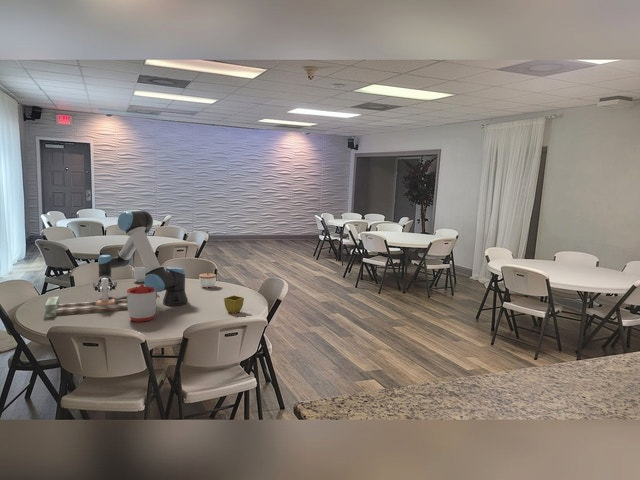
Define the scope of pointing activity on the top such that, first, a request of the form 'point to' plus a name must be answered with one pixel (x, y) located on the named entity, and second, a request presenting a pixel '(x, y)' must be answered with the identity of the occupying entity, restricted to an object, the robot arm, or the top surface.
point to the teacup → (139, 273)
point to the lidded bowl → (207, 279)
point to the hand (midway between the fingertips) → (105, 291)
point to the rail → (80, 307)
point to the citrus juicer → (141, 303)
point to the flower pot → (233, 303)
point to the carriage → (105, 295)
